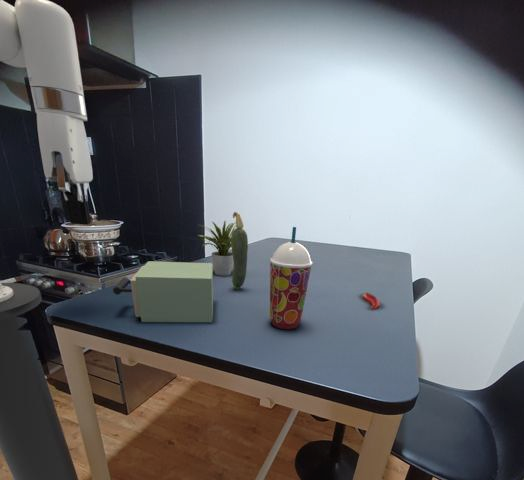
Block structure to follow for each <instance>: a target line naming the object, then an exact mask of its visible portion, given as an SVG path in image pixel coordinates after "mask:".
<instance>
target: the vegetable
mask: <svg viewBox="0 0 524 480" xmlns="http://www.w3.org/2000/svg"><path fill="white" fill-rule="evenodd" d="M234 218H235V225H236V226H235V225H234V227H235V229H234V231H233V232H232V231H231V232H232V234H231V233H230V234H231V237H230V238H231V242H230V243H231V248H230V249H231V253H232V254H233V267H232V279H231V282H232V286H233V288H234V289H235V290H237V291H238V290H239V289H240V288H241V287H243V285H244V283H245V280H246V276H247V266H248V251H249V249H248V248H249V241H248V239H249V238H248V234H247V232H246V230H245V229H244V222H243V220H242V217H241V214H239V213H238V212H237V211H234V212H233V213H232V219H234Z"/></svg>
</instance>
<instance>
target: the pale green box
mask: <svg viewBox="0 0 524 480" xmlns="http://www.w3.org/2000/svg"><path fill="white" fill-rule="evenodd" d="M143 266H144V267H143V268H142V269H141V271H140V272H139V273H138V274H137V275H136V277H135V278H136V285H137V293H138V300H139V308H140V315H141V317H140V321H141V322H140V323H213V319H214V265H213V262H187V261H186V262H181V261H151V260H150V261H149V260H148V261H147V262H146V263H145V264H144V265H143Z"/></svg>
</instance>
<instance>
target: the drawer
mask: <svg viewBox="0 0 524 480" xmlns="http://www.w3.org/2000/svg"><path fill="white" fill-rule="evenodd" d="M144 266H145V265H142V266H141V267H140V268H139V269H138V270H137V272H136V273H135V274H134V275H133V277H131V279H129V278H128V277H123V278H121V279H120V280H119V281H118V283H117V284H116V285H115V286H114V287H113V288H112V292H113V293H114V294H115V295H120V294H121V293H131V294H132V301H133V309H134V314H135V318H141V315H140V308H139V300H138V293H137V285H136V278H135V277H136V275H137V274H138V273H139V272H140V271H141V269H142V268H143V267H144ZM129 284H130V287H131V288H126V287H127V286H128V285H129Z"/></svg>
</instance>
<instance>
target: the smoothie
mask: <svg viewBox="0 0 524 480" xmlns="http://www.w3.org/2000/svg"><path fill="white" fill-rule="evenodd" d="M296 234H297V227H296V226H293V227H292V232H291V241H288V242H285V243H283V244H280V246H278V247H277V248H276V250H275V251H274V252H273V255H272V256H271V257H270V259H269V263H270V265H269V278H270V279H269V320H270V321H271V324H272V325H273V326H274V327H276V328H278V329H281V330H292V329H295V328H297V327H298V326H299V323H301V321H302V318H303V312H304V306H305V300H306V296H307V291H308V285H309V280H310V275H311V269H312V266H313V261H311V256H310V253H309V251H308V250H307V248H306V247H304V245H302V244H301V243H299V242H297V241H296V236H297V235H296Z"/></svg>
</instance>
